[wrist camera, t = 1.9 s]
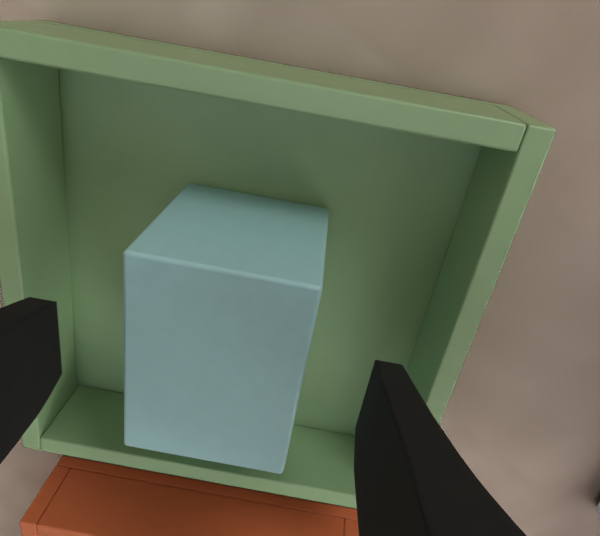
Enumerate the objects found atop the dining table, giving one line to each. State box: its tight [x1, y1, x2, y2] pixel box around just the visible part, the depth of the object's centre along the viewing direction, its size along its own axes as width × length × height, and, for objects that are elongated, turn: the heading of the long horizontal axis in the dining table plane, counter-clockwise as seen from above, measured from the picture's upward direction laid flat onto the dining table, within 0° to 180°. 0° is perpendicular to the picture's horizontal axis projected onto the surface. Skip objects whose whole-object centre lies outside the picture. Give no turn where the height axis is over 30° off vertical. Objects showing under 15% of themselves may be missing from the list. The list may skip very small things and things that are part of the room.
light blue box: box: [123, 183, 329, 474], centre depth 13 cm, size 4×5×5 cm
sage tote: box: [0, 21, 556, 509], centre depth 14 cm, size 12×12×3 cm
